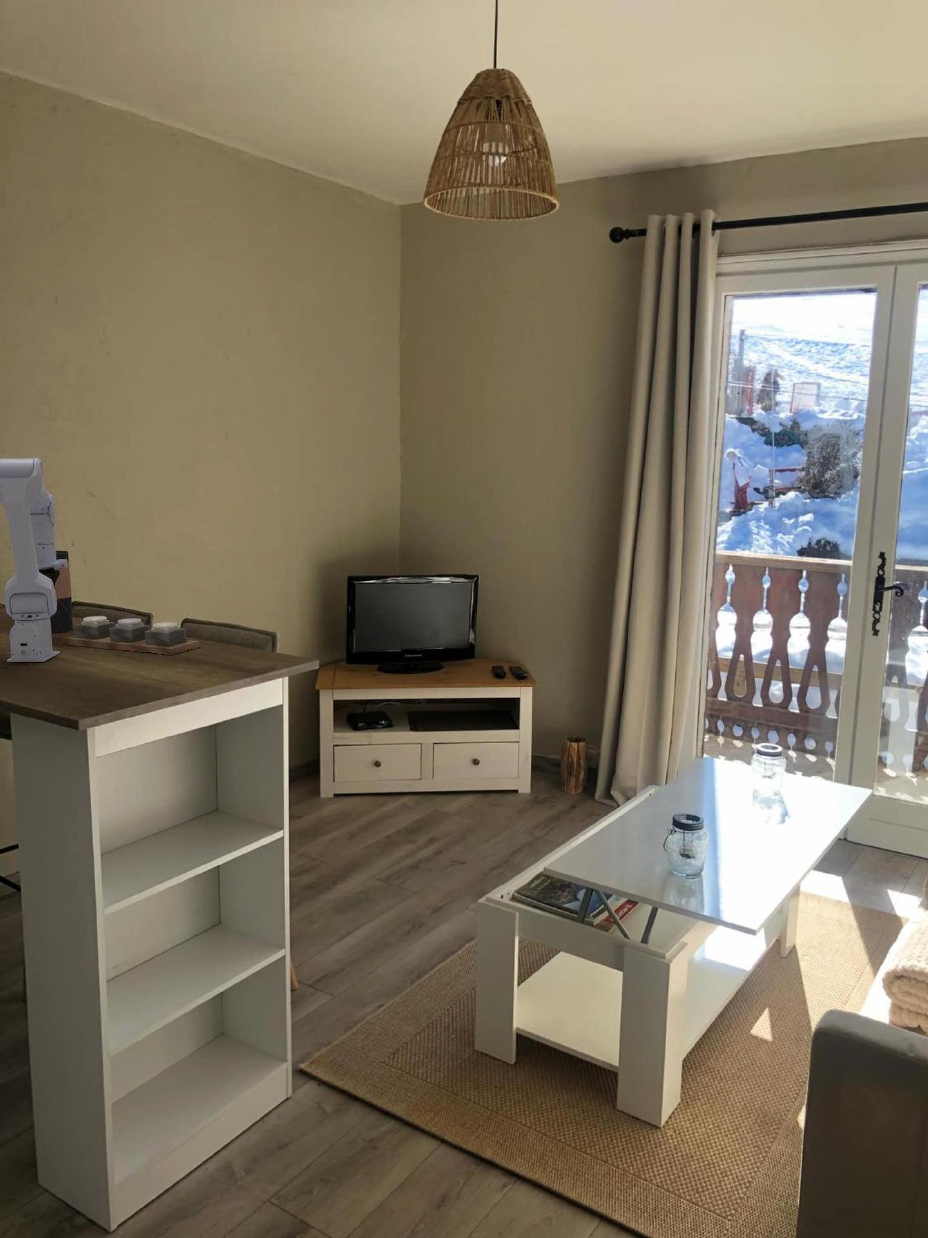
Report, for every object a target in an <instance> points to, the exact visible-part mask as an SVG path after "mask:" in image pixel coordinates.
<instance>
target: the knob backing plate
mask: <svg viewBox="0 0 928 1238" xmlns="http://www.w3.org/2000/svg"><path fill="white" fill-rule="evenodd" d="M116 624H117V623H116V622H110V621H109V624H104V625H99V626H87V625H81V623H79V624H75V625H74V628H75V629H74V630H75V635H71V636H67V637H62V644H63V645H66V646H75V647H76V646H77V647H85V648H95V649H106V650H112V651H113V650H115V651H123V650H130V651H129V652H133V651H137V652H136V653H143V652H152V653H157V654H156V655H162V654H165V655H164V656H174V655H177V654H181V652H182V653H185V652H188V651H187V650H189V651H192V650H191V649H193V650H197V649H199V648H198V647H200V648H201V642H200V640H193V639H191V640H190V639H187V628H181V627H180V630H176V631H172V632H168V633H164V632H153V631H151V625H147V624H144V627H139V628H135V629H120V628H116ZM152 653H151V654H152Z"/></svg>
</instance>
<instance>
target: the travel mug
mask: <svg viewBox="0 0 928 1238" xmlns="http://www.w3.org/2000/svg"><path fill="white" fill-rule="evenodd" d="M69 557H70V556H69V551H68V550H67V551H66V550H56V560H59V559H66V560H67V568H57V569H55V570H59V571H60V575H59V577H58V579H57V581H56V583H55V586H54V589H55V591H56V597H57V610H56V612H55V613H54V615H52V616H51V617H50V621H51V634H60V633H68V632H72V631H73V598H72V585H71V584H72V583H71V571H70V559H69ZM43 568H48V567H43ZM41 569H42V568H41Z"/></svg>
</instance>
